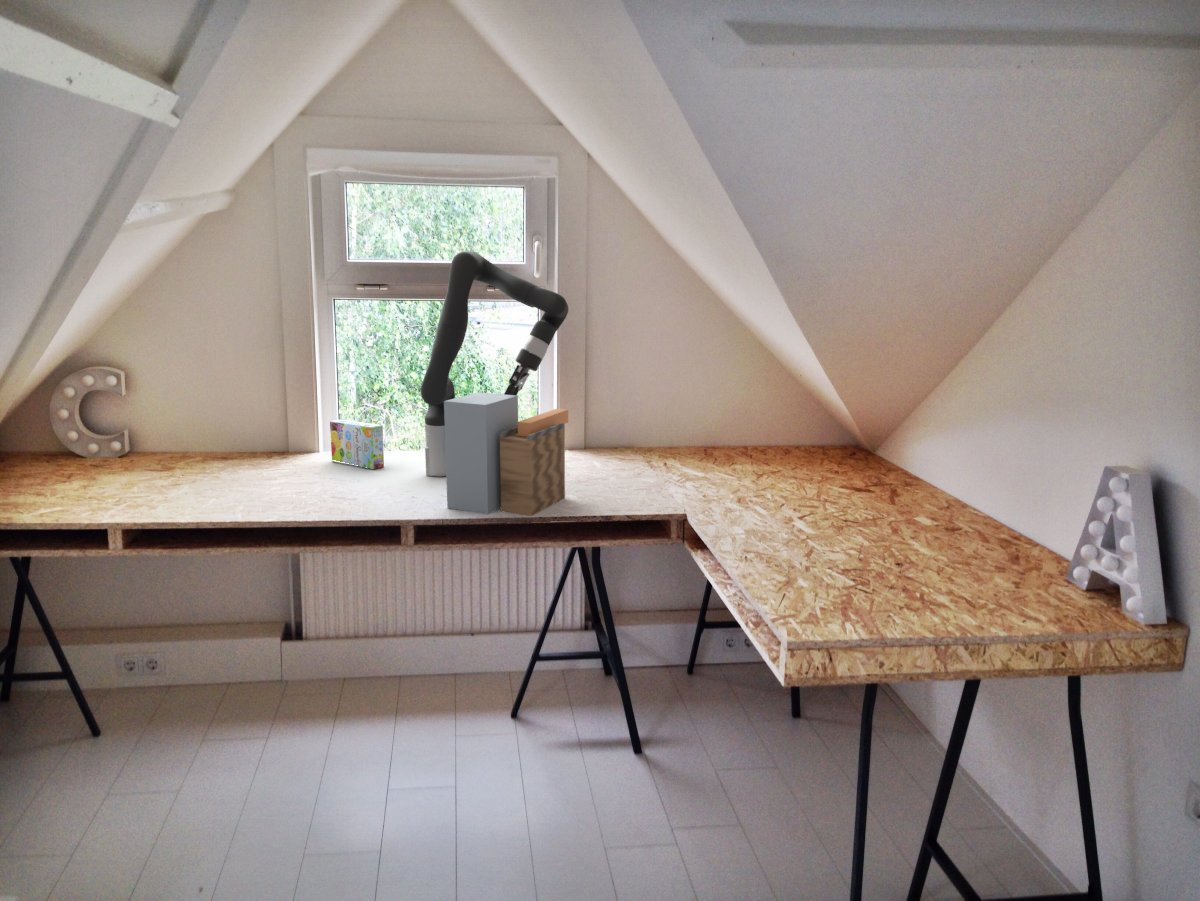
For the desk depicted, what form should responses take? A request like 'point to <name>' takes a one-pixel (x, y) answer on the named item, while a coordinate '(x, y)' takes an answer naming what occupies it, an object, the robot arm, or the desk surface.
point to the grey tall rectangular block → (476, 449)
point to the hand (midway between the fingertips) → (508, 398)
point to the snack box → (357, 443)
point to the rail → (542, 421)
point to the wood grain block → (532, 469)
